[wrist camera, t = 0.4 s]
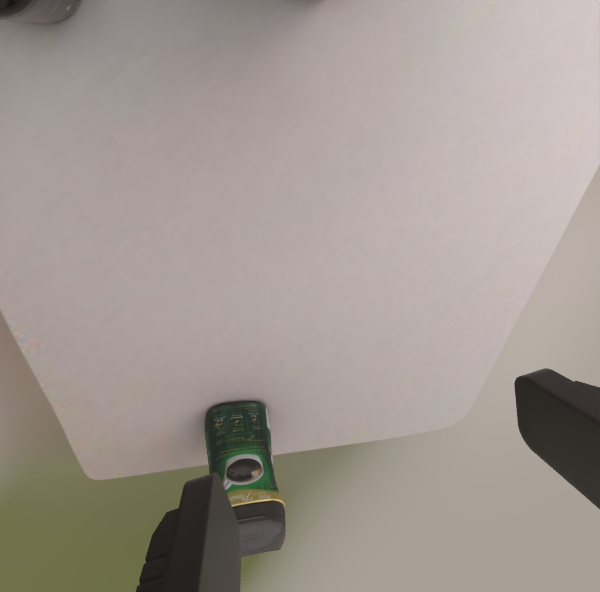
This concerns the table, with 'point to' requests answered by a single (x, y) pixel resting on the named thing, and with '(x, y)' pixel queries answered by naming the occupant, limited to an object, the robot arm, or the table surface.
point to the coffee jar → (247, 472)
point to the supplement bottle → (37, 10)
